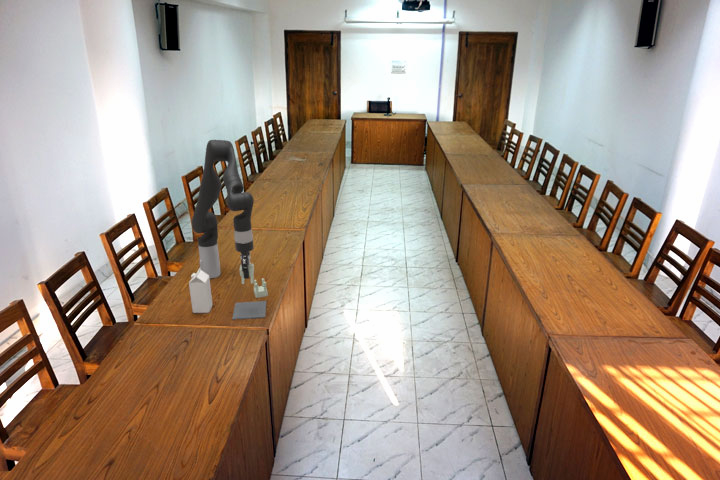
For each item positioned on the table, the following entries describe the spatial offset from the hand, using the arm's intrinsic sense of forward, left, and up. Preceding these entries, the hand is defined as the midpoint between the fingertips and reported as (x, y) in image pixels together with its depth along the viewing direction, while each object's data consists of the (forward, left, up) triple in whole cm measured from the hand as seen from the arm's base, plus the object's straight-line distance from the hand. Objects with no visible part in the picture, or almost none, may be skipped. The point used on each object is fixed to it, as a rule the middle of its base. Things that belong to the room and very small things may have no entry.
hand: (247, 275), depth 220 cm
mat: (0, 0, -18) cm, 18 cm away
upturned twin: (+4, +15, -18) cm, 24 cm away
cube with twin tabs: (0, 0, -3) cm, 3 cm away
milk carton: (-21, +4, -18) cm, 28 cm away
